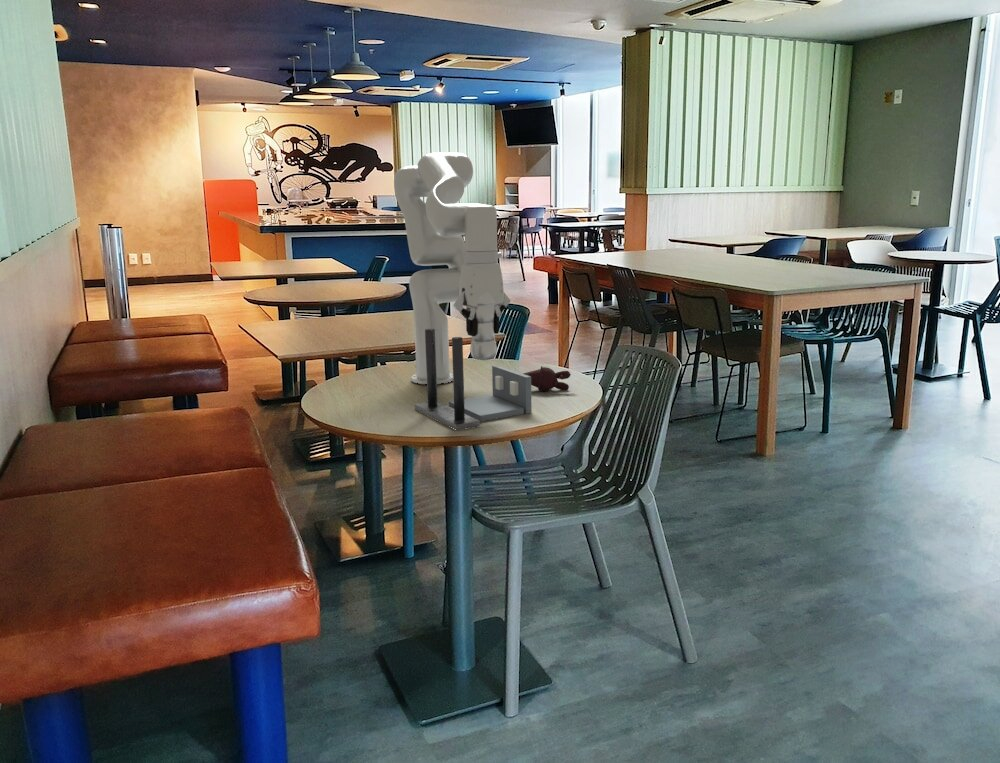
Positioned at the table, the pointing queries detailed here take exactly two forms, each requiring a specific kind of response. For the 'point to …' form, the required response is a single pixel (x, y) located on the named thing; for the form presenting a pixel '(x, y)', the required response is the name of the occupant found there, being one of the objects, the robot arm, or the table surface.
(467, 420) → the cord gate
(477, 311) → the silver bottle
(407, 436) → the table surface
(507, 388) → the switch board
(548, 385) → the dark brown rounded figure
